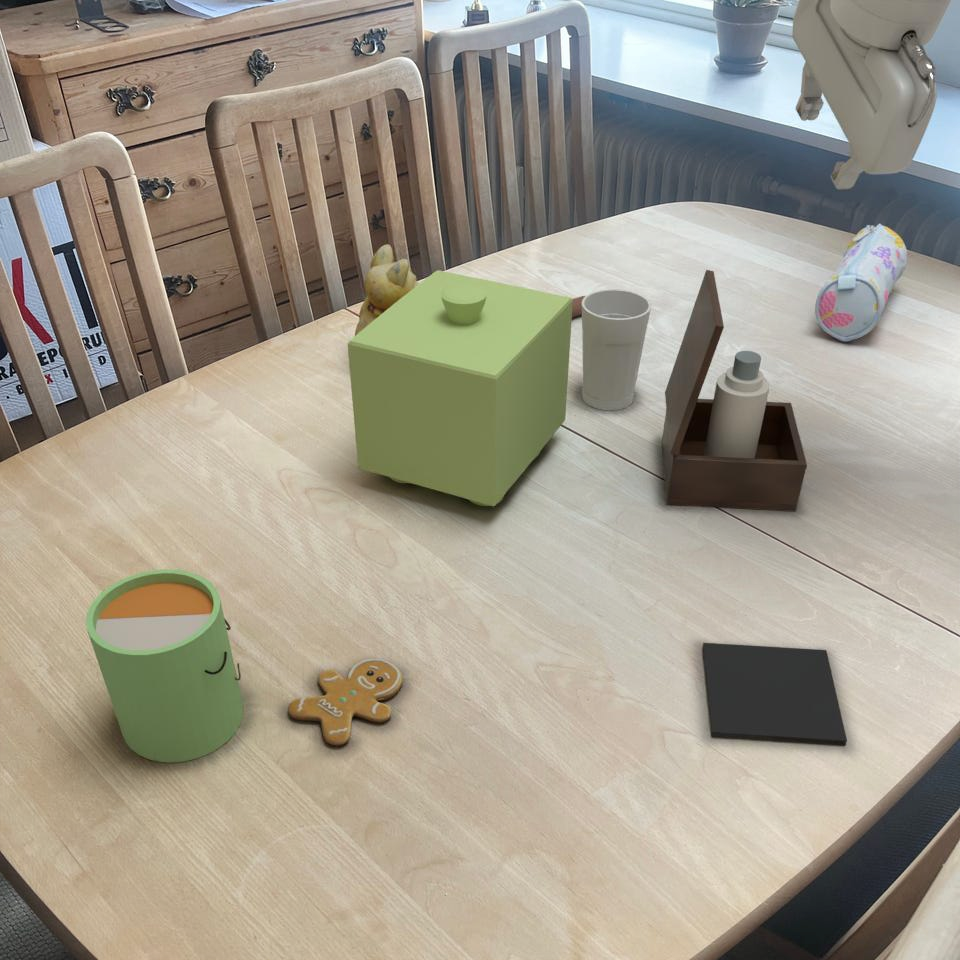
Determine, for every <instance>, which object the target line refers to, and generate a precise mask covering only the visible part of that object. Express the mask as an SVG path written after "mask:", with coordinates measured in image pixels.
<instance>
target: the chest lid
mask: <svg viewBox="0 0 960 960" xmlns="http://www.w3.org/2000/svg"><path fill="white" fill-rule="evenodd" d="M724 328H725V325H724V320H723V315H722V309H721V303H720V299H719V293H718V287H717V282H716V277H715V271H714V270H710V269H706V270H705V272H704V275H703V279H702V281H701V285H700V287H699V289H698V293H697V296H696V299H695V301H694V305H693V307H692V312H691V314H690V317H689V320H688V323H687V327H686V329H685V332H684V335H683V337H682V341H681V344H680V346H679V350H678V353H677V355H676V358H675V361H674V364H673V368H672V371H671V374H670V376H669V379H668V383H667V385H666V388H665V392H664V396H665V411H666V410H667V422H668V434H669V445H670V454H674V455H678V452H679V450H680V447H681V444H682V441H683V439H684V436H685V433H686V430H687V428H688V425H689V422H690V419H691V417H692V414H693V411H694V408H695V406H696V403H697V400H698V399H699V397H700V394H701V391H702V388H703V387H704V384H705V381H706V378H707V375H708V372H709V371H710V370H709V369H710V367H711V364H712V362H713V358H714V355H715V353H716V350H717V348H718V345H719V342H720V339H721V337H722V334H723V330H724Z"/></svg>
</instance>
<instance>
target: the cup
mask: <svg viewBox="0 0 960 960" xmlns="http://www.w3.org/2000/svg"><path fill="white" fill-rule="evenodd" d="M584 296H585V297H584V298H583V300H582V314H581V331H582V333H581V335H582V339H581V340H582V389H581V399H582V401H583V402H584V403H585V404H586V405H587V406H589V407H591V408H594V409H597V410H603V411H618V410H623V409H625V408H628V407H629V406H631V405H632V404H633V402H634V398H635V390H636V386H637V385H636V384H637V379H638V375H639V369H640V364H641V359H642V353H643V349H644V344H645V339H646V333H647V329H648V324H649V320H650V314H651V309H652V303H651V301H650V300H649V299H648V298H647V297H646V296H645V295H643V294H640V293H638V292H636V291H632V290H627V289H620V288H618V289H617V288H607V289H600V290H596V291H592V292H590V293H588V294H587V295H584Z"/></svg>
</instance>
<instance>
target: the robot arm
mask: <svg viewBox="0 0 960 960" xmlns="http://www.w3.org/2000/svg"><path fill="white" fill-rule="evenodd" d="M951 2H952V0H798V3H797V5H796V8H795V12H794V15H793V19H792V39H793V42H794V43H795V44H796V47H797V49H798V51H799V53H800V54H801V56H802V59H804V61H805V62H804V64H803V67H802V73H801V74H802V75H801V83H800V84H801V85H800V95H799V97H798V101H797V103H796V105H795V111H796V113H797V115H798V116H799V119H800V121H804V122H805V121H815V120H817V118H818V117H819V115H820V111H821V110H822V109H823V106H824V101H823V98H822V95H823V97H824V99H825V101H826V103H827V104H828V106H829V108H830V110H831V111H832V114H833V115H834V117H835V119H836V121H837V123H838V125H839V127H840V129H841V131H842V132H843V135H844V136H845V138H846V140H847V142H848V144H849V145H850V148H849V151H848V156H849V157H850V158H849V159H848V160H847V161H836V163H835V166H834V167H833V171H832V172H831V173H830V179H831V181H832V183H833V185H834V187H835V189H836V190H849V189H851V188H853V187H854V186H855V184H856V183H857V180H858V178H859V176H860V174H861V173H863V172H864V173H866V174H868V175H890V174H898V173H900V172H903V171H905V170H907V169H908V167H909V166H910V165H911V163H912V162H913V159H914V157H915V155H916V153H917V152H918V150H919V147H920V145H921V142H922V140H923V139H924V136H925V134H926V131H927V129H928V126H929V124H930V122H931V119H932V115H933V113H934V110H935V108H936V101H937V97H938V94H937V93H938V89H937V84H936V81H935V80H936V79H935V75H936V73H937V68H936V64H935V63H934V61H933V60H932V59H931V58H930V57H929V56H928V54H927V53H926V49H925V47H924V46H925V45H926V44H928V43H929V42H930V41H931V40H932V39H933V37H934V35H935V33H936V31H937V29H938V27H939V25H940V23H941V22H942V19H943V17H944V16H945V14H946V12H947V9H948V7H949V5H950V4H951Z"/></svg>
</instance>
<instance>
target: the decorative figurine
mask: <svg viewBox="0 0 960 960" xmlns="http://www.w3.org/2000/svg"><path fill="white" fill-rule="evenodd" d="M393 254H394V252H393V248H392V246H391V245H390V244H388V243H387V244H384V245H382V246H380V248H379V249H378V250H377V251H376V252H375V253H374V255H373V256H372V258H371V262H370V268H369V271H368V272H367V273H366V275H365V277H364V278H365V279H364V291H365V294H366V296H365V299H364V301H363V303H362V305H361V306H360V310H359V313H358V322H357V325H356V327H355V331H354V336H356V335H357V334H358V333H359V332H360V331H362V330H363V329H364V328H365V327H366V326H368V325H369V324H370V323H371V322H372V321H374V320H375V319H376V318H377V317H379V316H380V315H381V314H382V313H384V312H385V311H386V310H387V309H388V308H390V307H391V306H392V305H393V304H395V303H396V302H397V301H398V300H400V299H401V298H402V297H403V296H405V295H406V294H407V293H408V292H410V291H411V290H412V289H414V288H415V287H416V286H417V285H419V284H420V283H419V282H418V279H417V276H416V275H415V274H414V273H413V271H412V268H410V263H409V260H408V259H407V258H401V259H400V260H398V261H395V256H394V255H393Z"/></svg>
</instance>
